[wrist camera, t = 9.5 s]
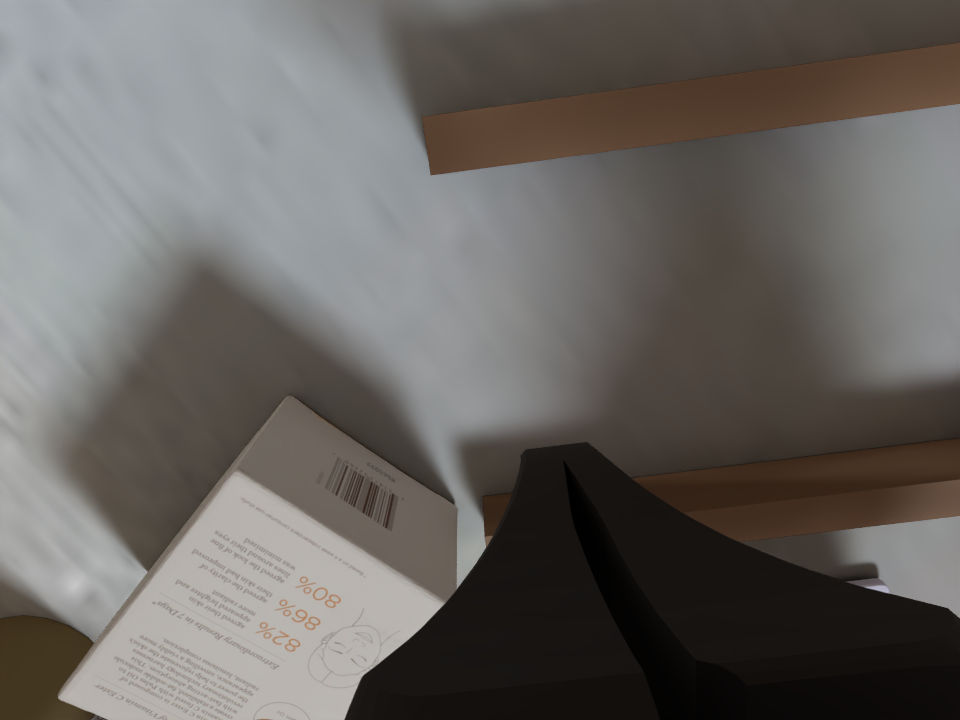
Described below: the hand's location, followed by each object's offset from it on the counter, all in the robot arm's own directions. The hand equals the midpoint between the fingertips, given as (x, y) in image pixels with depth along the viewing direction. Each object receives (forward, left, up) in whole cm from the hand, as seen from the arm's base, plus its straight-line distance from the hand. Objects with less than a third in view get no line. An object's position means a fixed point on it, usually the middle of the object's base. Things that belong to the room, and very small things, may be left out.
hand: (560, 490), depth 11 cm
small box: (-3, +5, -7) cm, 9 cm away
